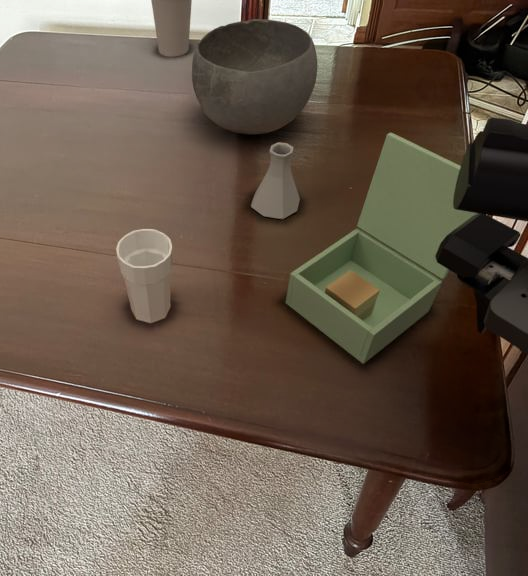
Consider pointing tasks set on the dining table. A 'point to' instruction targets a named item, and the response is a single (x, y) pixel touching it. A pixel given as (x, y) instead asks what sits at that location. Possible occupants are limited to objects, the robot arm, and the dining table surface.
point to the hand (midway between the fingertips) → (518, 354)
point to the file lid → (412, 202)
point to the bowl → (254, 74)
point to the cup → (146, 272)
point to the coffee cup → (172, 26)
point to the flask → (277, 186)
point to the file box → (377, 271)
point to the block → (354, 294)
